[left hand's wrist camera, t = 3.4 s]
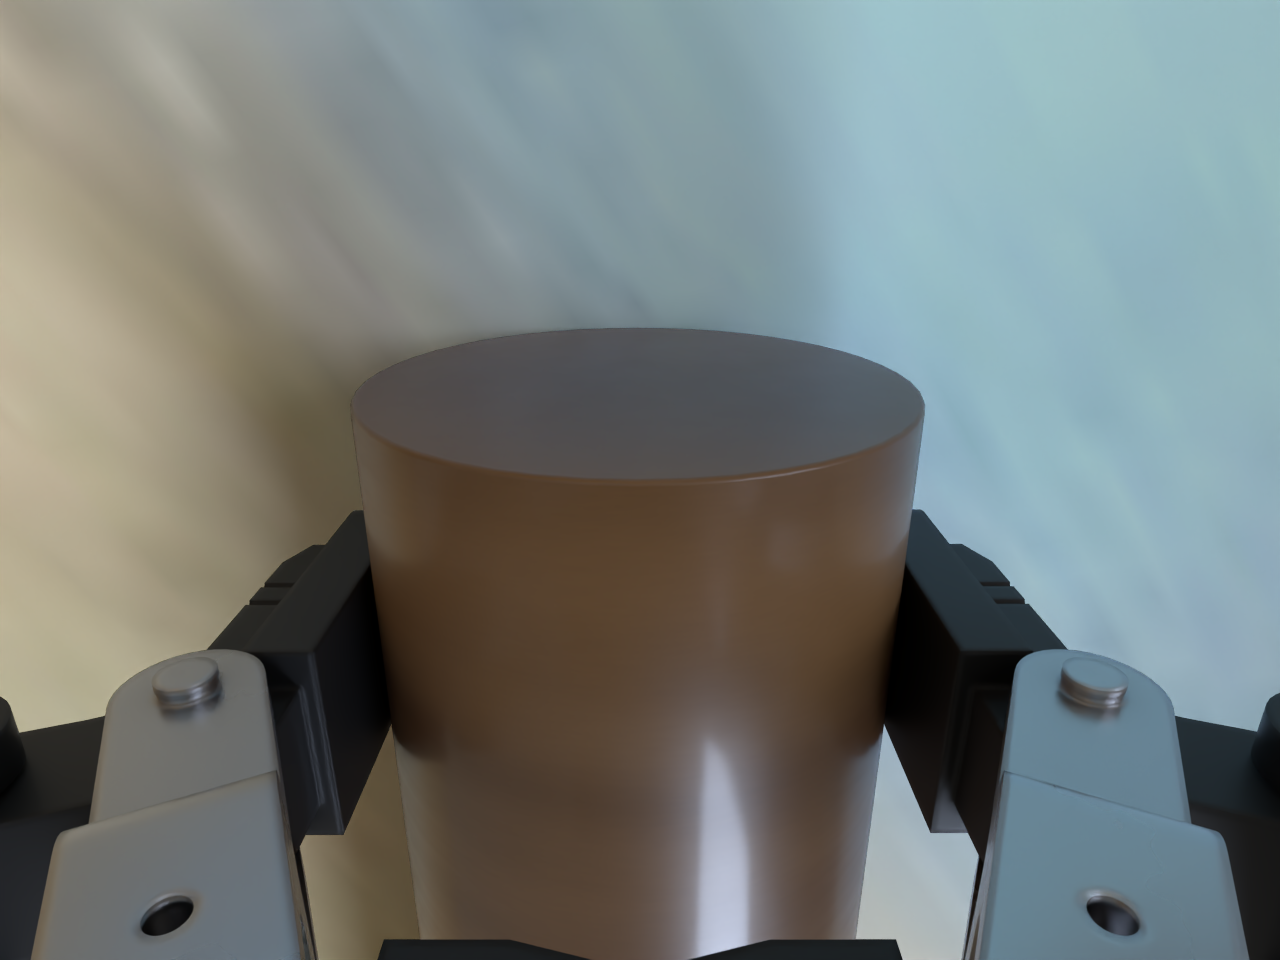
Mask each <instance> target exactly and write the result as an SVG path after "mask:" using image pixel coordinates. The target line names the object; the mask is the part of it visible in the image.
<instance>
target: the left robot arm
mask: <svg viewBox="0 0 1280 960" xmlns="http://www.w3.org/2000/svg"><path fill="white" fill-rule="evenodd" d="M391 724H392V723H391V715H390V707H389V700H388V692H387V685H386V677H385V670H384V662H383V654H382V647H381V639H380V632H379V624H378V617H377V609H376V601H375V594H374V586H373V579H372V571H371V563H370V556H369V548H368V541H367V533H366V526H365V518H364V510H355V511H353V512H352V513H351V514H350V515H349V516H348V517H347V519H346V520H345V521H344V522H343V524H342V525H341V526H340V527H339V529H338V530H337V531H336V532H335V534H334V535H333V536H332V537H331V539H330V540H329V541H328V542H327V544H326V545H312V546H311V547H309V548H307V549H305V550H304V551H302V552H300V553H299V554H297V555H295V556H293V557H292V558H290V559H288V560H286V561H285V562H283V563H282V564H281V565H280V566H279V567H278V569H277V570H276V571H275V572H274V573H273V574H272V575H271V577H270V578H269V579H268V580H267V581H266V582H265V587H261V588H260V589H259V590H258V592H257V593H256V594H255V595H254V596H253V597H252V598H251V600H250V604H249V605H245V606H244V608H243V609H242V610H241V611H240V612H239V613H238V614H237V616H236V617H235V618H234V619H233V620H232V621H231V623H230V624H229V625H228V626H227V627H226V628H225V629H224V631H223V632H222V633H221V634H220V635H219V636H218V637H217V639H216V640H215V641H214V642H213V643H212V644H211V646H210V647H209V648H208V649H207V650H204V651H198V652H192V653H187V654H184V655H180V656H176V657H173V658H170V659H167V660H164V661H162V662H160V663H157V664H155V665H153V666H150V667H148V668H147V669H145V670H143V671H141V672H139V673H138V674H136V675H134V676H133V677H131V678H130V679H129V680H127V681H126V682H125V683H124V684H122V685H121V686H120V687H119V688H118V689H117V690H116V691H115V693H114V694H113V695H112V697H111V698H110V700H109V702H108V705H107V708H106V715H105V716H103V717H98V718H94V719H89V720H85V721H79V722H74V723H69V724H64V725H58V726H53V727H48V728H42V729H37V730H32V731H27V732H21V733H19V731H18V728H17V725H16V722H15V719H14V716H13V713H12V711H11V708H10V705H9V704H8V702H7V701H6V700H5V699H3V698H2V697H0V960H318V953H317V947H316V940H315V934H314V928H313V921H312V915H311V908H310V902H309V895H308V889H307V883H306V876H305V871H304V866H303V861H302V856H301V851H300V845H301V843H302V841H303V839H304V837H305V835H344V832H345V830H346V828H347V825H348V823H349V821H350V818H351V816H352V814H353V811H354V809H355V807H356V805H357V802H358V800H359V798H360V795H361V793H362V791H363V788H364V786H365V784H366V781H367V779H368V777H369V775H370V772H371V770H372V768H373V765H374V763H375V761H376V758H377V756H378V754H379V751H380V749H381V747H382V745H383V742H384V740H385V738H386V735H387V733H388V731H389V728H390V726H391ZM884 725H885V727H886V729H887V732H888V734H889V736H890V739H891V741H892V743H893V746H894V748H895V750H896V753H897V755H898V757H899V760H900V762H901V765H902V767H903V769H904V772H905V774H906V776H907V779H908V781H909V783H910V786H911V788H912V790H913V793H914V795H915V797H916V800H917V802H918V804H919V807H920V809H921V812H922V814H923V816H924V819H925V821H926V823H927V826H928V828H929V830H930V833H968V834H969V836H970V838H971V840H972V842H973V844H974V846H975V848H976V850H977V852H978V855H979V856H978V861H977V866H976V871H975V876H974V883H973V889H972V896H971V902H970V909H969V915H968V921H967V928H966V934H965V941H964V947H963V953H962V960H1280V693H1279V694H1276V695H1274V696H1273V697H1271V698H1270V699H1269V701H1268V702H1267V704H1266V707H1265V710H1264V713H1263V716H1262V719H1261V722H1260V725H1259V728H1258V731H1257V732H1256V731H1250V730H1245V729H1240V728H1234V727H1229V726H1224V725H1219V724H1213V723H1208V722H1203V721H1197V720H1192V719H1187V718H1182V717H1178V716H1175V714H1174V708H1173V705H1172V702H1171V700H1170V698H1169V697H1168V695H1167V694H1166V693H1165V691H1164V690H1163V689H1162V688H1161V687H1160V686H1159V685H1158V684H1156V683H1155V682H1154V681H1153V680H1151V679H1150V678H1149V677H1147V676H1146V675H1144V674H1142V673H1141V672H1139V671H1137V670H1135V669H1133V668H1132V667H1130V666H1127V665H1125V664H1123V663H1121V662H1118V661H1116V660H1113V659H1110V658H1107V657H1104V656H1100V655H1096V654H1093V653H1088V652H1082V651H1076V650H1068V649H1067V648H1066V647H1065V646H1064V645H1063V643H1062V642H1061V641H1060V640H1059V639H1058V638H1057V636H1056V635H1055V634H1054V633H1053V632H1052V631H1051V629H1050V628H1049V627H1048V626H1047V625H1046V624H1045V622H1044V621H1043V620H1042V619H1041V618H1040V617H1039V615H1038V614H1037V613H1036V612H1035V611H1034V610H1033V608H1032V607H1031V606H1030V605H1029V604H1025V599H1024V598H1023V597H1022V596H1021V595H1020V593H1019V592H1018V591H1017V590H1016V589H1015V588H1014V586H1010V582H1009V581H1008V579H1007V578H1006V577H1005V576H1004V575H1003V574H1002V572H1001V571H1000V570H999V569H998V568H997V567H996V565H995V564H994V563H993V562H992V561H990V560H989V559H987V558H985V557H983V556H982V555H980V554H978V553H976V552H975V551H973V550H971V549H969V548H968V547H966V546H964V545H963V544H949V543H948V542H947V540H946V539H945V538H944V537H943V535H942V534H941V533H940V532H939V530H938V529H937V528H936V526H935V525H934V524H933V523H932V521H931V520H930V519H929V518H928V516H927V515H926V514H925V513H924V512H923V511H922V510H912V514H911V522H910V529H909V537H908V544H907V552H906V560H905V567H904V575H903V582H902V590H901V598H900V605H899V613H898V620H897V628H896V636H895V643H894V651H893V658H892V666H891V673H890V681H889V689H888V696H887V704H886V711H885V719H884ZM378 960H591V959H587V958H583V957H579V956H575V955H571V954H567V953H563V952H559V951H555V950H551V949H547V948H542V947H538V946H534V945H530V944H526V943H522V942H518V941H514V940H510V939H384V941H383V944H382V947H381V950H380V953H379V957H378ZM689 960H902V957H901V953H900V950H899V947H898V944H897V941H896V939H770V940H766V941H762V942H758V943H754V944H750V945H746V946H742V947H738V948H733V949H729V950H725V951H721V952H717V953H713V954H709V955H705V956H701V957H697V958H693V959H689Z"/></svg>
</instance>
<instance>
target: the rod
mask: <svg viewBox="0 0 1280 960" xmlns="http://www.w3.org/2000/svg"><path fill="white" fill-rule="evenodd" d="M350 406H351V420H352V427H353V435H354V442H355V450H356V457H357V465H358V473H359V480H360V488H361V495H362V503H363V510H364V518H365V526H366V533H367V541H368V548H369V556H370V563H371V571H372V579H373V586H374V594H375V601H376V609H377V617H378V624H379V632H380V639H381V647H382V654H383V662H384V670H385V677H386V685H387V692H388V700H389V707H390V715H391V723H392V730H393V738H394V745H395V753H396V760H397V768H398V776H399V783H400V791H401V798H402V806H403V814H404V821H405V829H406V836H407V844H408V851H409V859H410V867H411V874H412V882H413V889H414V897H415V904H416V912H417V920H418V927H419V935H420V939H510V940H514V941H518V942H522V943H526V944H530V945H534V946H538V947H542V948H547V949H551V950H555V951H559V952H563V953H567V954H571V955H575V956H579V957H583V958H587V959H591V960H689V959H693V958H697V957H701V956H705V955H709V954H713V953H717V952H721V951H725V950H729V949H733V948H738V947H742V946H746V945H750V944H754V943H758V942H762V941H766V940H770V939H856V932H857V924H858V917H859V909H860V901H861V894H862V886H863V879H864V871H865V863H866V856H867V848H868V841H869V833H870V825H871V818H872V810H873V803H874V795H875V787H876V780H877V772H878V765H879V757H880V749H881V742H882V734H883V727H884V719H885V711H886V704H887V696H888V689H889V681H890V673H891V666H892V658H893V651H894V643H895V636H896V628H897V620H898V613H899V605H900V598H901V590H902V582H903V575H904V567H905V560H906V552H907V544H908V537H909V529H910V522H911V514H912V506H913V499H914V491H915V484H916V476H917V468H918V461H919V453H920V446H921V438H922V430H923V423H924V414H925V403H924V401H923V398H922V396H921V394H920V391H919V390H918V389H917V388H916V387H915V386H914V385H913V384H912V383H911V382H910V381H908V380H907V379H906V378H904V377H903V376H901V375H900V374H898V373H896V372H894V371H892V370H890V369H888V368H886V367H884V366H883V365H880V364H878V363H875V362H872V361H870V360H867V359H865V358H862V357H859V356H856V355H852V354H849V353H846V352H843V351H839V350H835V349H831V348H827V347H823V346H819V345H814V344H809V343H804V342H799V341H793V340H787V339H781V338H775V337H768V336H760V335H752V334H743V333H733V332H722V331H708V330H693V329H668V328H607V329H582V330H567V331H553V332H542V333H532V334H524V335H515V336H507V337H501V338H494V339H488V340H482V341H477V342H471V343H466V344H461V345H456V346H452V347H448V348H444V349H440V350H436V351H433V352H429V353H426V354H423V355H419V356H416V357H413V358H411V359H408V360H405V361H403V362H400V363H398V364H395V365H393V366H391V367H389V368H387V369H385V370H383V371H381V372H379V373H377V374H376V375H374V376H373V377H371V378H370V379H368V380H367V381H365V382H364V383H363V384H362V385H361V387H360V388H359V389H358V390H357V391H356V392H355V395H354V397H353V399H352V401H351V405H350Z"/></svg>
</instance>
